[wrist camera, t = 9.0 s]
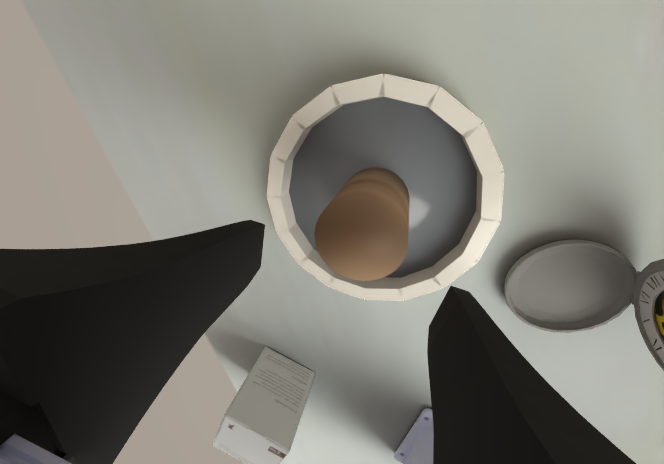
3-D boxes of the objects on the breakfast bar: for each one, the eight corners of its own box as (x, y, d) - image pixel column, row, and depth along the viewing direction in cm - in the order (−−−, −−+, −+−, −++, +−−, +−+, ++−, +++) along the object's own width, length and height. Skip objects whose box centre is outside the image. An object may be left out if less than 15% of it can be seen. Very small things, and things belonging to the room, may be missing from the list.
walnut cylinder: (396, 239, 19) (389, 292, 13) (336, 220, 19) (307, 263, 14) (420, 178, 17) (423, 213, 11) (351, 159, 17) (324, 183, 12)
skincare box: (251, 374, 31) (209, 446, 25) (266, 343, 28) (222, 415, 22) (298, 401, 31) (268, 480, 24) (318, 372, 28) (289, 453, 21)
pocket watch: (479, 274, 19) (536, 423, 10) (618, 193, 15) (914, 323, 6) (554, 350, 20) (667, 546, 11) (705, 292, 16) (1074, 531, 7)
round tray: (438, 308, 21) (441, 326, 19) (271, 250, 23) (259, 263, 21) (543, 112, 14) (562, 113, 12) (295, 55, 16) (281, 49, 14)
